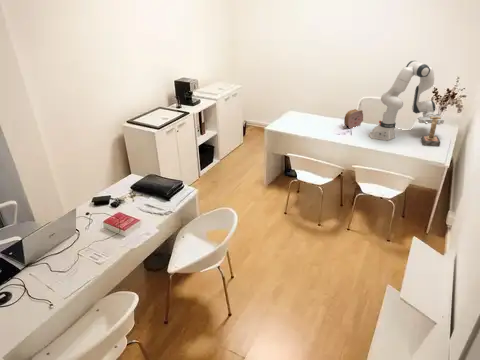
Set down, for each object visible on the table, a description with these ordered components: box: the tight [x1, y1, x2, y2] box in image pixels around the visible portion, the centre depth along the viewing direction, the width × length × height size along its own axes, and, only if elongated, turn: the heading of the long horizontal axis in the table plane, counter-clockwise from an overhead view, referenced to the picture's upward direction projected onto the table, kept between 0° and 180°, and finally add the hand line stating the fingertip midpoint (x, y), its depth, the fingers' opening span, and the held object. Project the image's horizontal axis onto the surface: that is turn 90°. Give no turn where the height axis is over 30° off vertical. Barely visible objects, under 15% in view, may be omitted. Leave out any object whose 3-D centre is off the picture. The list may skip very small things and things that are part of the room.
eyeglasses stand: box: [426, 116, 442, 140], centre depth 305 cm, size 8×7×20 cm
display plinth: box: [420, 135, 441, 147], centre depth 311 cm, size 13×12×4 cm
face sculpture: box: [343, 108, 364, 129], centre depth 352 cm, size 20×7×17 cm, turn 119°
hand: (432, 123), depth 309 cm, fingers open, 8 cm apart
